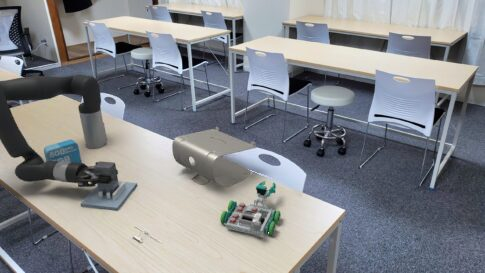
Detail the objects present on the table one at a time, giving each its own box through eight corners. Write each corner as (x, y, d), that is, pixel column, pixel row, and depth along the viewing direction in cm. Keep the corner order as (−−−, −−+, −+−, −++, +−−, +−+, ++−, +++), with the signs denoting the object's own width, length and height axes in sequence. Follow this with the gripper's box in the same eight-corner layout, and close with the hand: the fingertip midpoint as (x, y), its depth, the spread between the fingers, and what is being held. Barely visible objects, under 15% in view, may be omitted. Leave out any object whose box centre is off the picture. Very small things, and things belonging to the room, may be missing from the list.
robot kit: (290, 200, 136) (291, 178, 132) (270, 244, 115) (271, 220, 111) (242, 190, 142) (242, 169, 138) (215, 230, 121) (214, 207, 117)
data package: (53, 177, 150) (46, 151, 145) (49, 173, 153) (42, 147, 148) (82, 167, 157) (77, 141, 152) (78, 163, 160) (73, 138, 155)
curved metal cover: (172, 172, 154) (169, 138, 147) (214, 152, 169) (213, 121, 162) (215, 196, 138) (214, 160, 131) (257, 172, 154) (258, 138, 147)
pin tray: (103, 182, 146) (102, 174, 145) (137, 185, 144) (136, 177, 143) (81, 206, 132) (79, 197, 131) (117, 210, 130) (116, 201, 128)
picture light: (162, 243, 116) (161, 238, 115) (151, 251, 113) (150, 246, 112) (134, 225, 123) (133, 220, 123) (123, 232, 120) (122, 227, 120)
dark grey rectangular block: (104, 189, 140) (99, 161, 135) (119, 190, 139) (115, 162, 134) (99, 195, 136) (93, 166, 131) (114, 196, 135) (109, 168, 130)
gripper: (56, 173, 129) (101, 178, 126) (79, 154, 142) (121, 157, 139) (60, 191, 132) (105, 196, 129) (83, 171, 145) (124, 175, 142)
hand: (113, 176), depth 134 cm, fingers open, 5 cm apart
